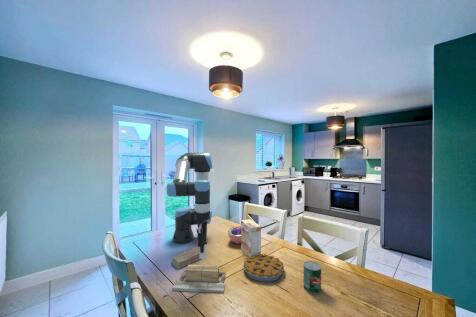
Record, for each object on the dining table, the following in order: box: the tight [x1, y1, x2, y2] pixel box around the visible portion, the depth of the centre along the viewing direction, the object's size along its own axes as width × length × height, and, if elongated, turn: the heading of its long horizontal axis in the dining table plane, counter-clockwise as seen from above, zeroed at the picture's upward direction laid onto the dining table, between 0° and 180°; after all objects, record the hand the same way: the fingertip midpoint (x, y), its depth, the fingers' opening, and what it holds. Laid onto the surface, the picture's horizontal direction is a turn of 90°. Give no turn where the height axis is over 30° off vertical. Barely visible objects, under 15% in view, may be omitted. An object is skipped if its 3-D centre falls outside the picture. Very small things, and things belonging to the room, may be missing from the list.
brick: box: [171, 247, 200, 270], centre depth 119 cm, size 17×8×5 cm, turn 138°
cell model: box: [226, 225, 241, 245], centre depth 146 cm, size 17×20×11 cm
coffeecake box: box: [240, 219, 262, 258], centre depth 128 cm, size 15×7×20 cm, turn 23°
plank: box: [184, 264, 220, 283], centre depth 101 cm, size 5×16×6 cm, turn 86°
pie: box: [242, 253, 285, 283], centre depth 109 cm, size 22×22×5 cm
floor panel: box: [171, 270, 226, 294], centre depth 99 cm, size 14×24×1 cm, turn 86°
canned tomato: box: [303, 260, 322, 295], centre depth 94 cm, size 8×8×11 cm
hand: (202, 258), depth 101 cm, fingers closed
